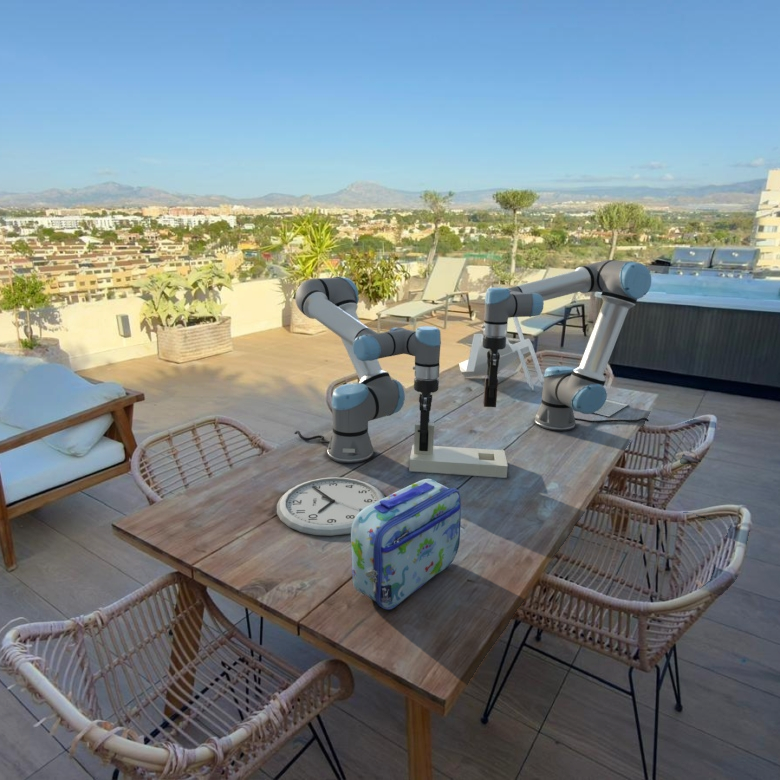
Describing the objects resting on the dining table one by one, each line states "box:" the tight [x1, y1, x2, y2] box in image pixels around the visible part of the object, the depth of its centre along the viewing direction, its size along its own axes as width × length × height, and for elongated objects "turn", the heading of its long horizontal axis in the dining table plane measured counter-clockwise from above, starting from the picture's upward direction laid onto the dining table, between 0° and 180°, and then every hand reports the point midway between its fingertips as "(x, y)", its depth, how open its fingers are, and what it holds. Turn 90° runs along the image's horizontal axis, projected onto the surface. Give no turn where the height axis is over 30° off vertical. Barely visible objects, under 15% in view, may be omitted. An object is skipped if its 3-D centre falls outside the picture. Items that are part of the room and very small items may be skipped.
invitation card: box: [593, 399, 629, 418], centre depth 226 cm, size 21×1×15 cm
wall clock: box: [276, 476, 386, 537], centre depth 142 cm, size 30×2×30 cm
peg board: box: [408, 420, 509, 479], centre depth 165 cm, size 30×12×14 cm, turn 83°
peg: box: [482, 375, 499, 408], centre depth 177 cm, size 4×4×10 cm
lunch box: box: [350, 478, 462, 611], centre depth 110 cm, size 26×11×21 cm, turn 135°
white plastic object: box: [458, 317, 544, 391], centre depth 258 cm, size 37×45×31 cm
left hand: (423, 448), depth 167 cm, fingers closed on peg board, 3 cm apart
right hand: (489, 403), depth 178 cm, fingers closed on peg, 4 cm apart
